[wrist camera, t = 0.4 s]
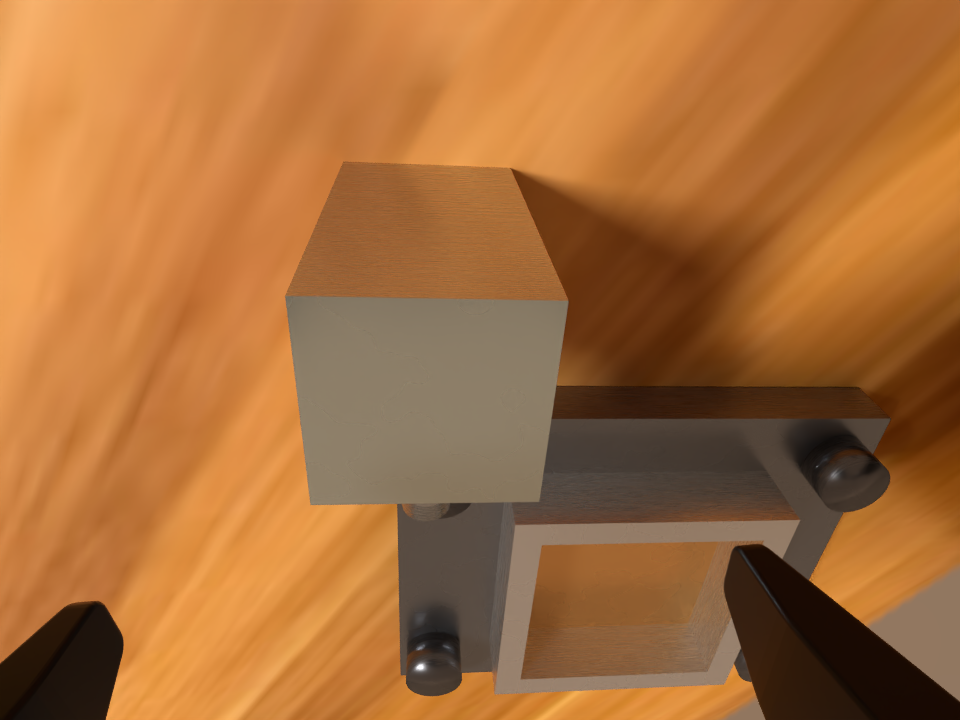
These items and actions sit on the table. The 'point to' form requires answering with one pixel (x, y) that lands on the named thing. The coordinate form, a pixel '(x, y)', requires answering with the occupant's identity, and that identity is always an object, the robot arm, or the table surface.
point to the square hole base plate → (633, 537)
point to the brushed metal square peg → (425, 340)
